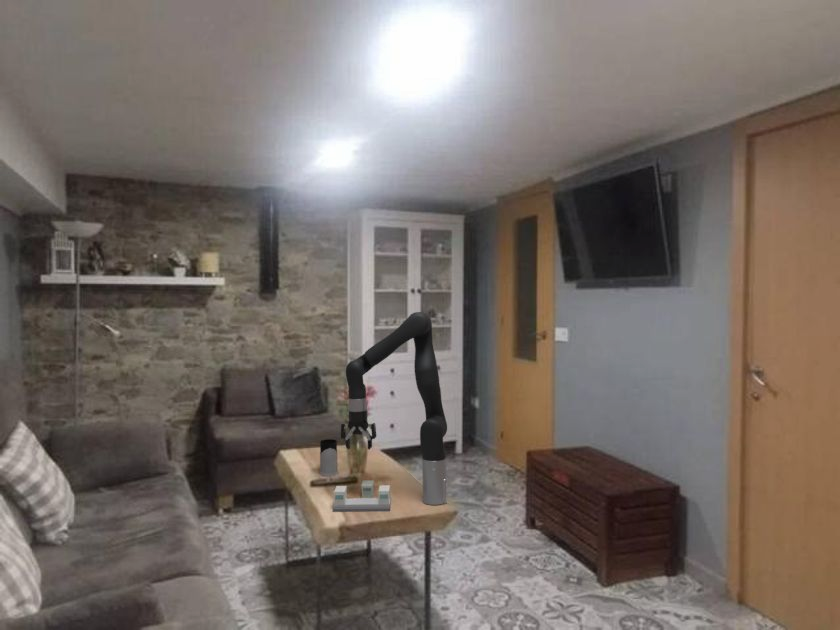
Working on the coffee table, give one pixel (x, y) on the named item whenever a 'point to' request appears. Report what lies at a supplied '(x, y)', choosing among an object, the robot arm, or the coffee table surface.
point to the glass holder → (328, 457)
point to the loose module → (367, 488)
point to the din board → (361, 501)
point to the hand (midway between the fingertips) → (358, 449)
